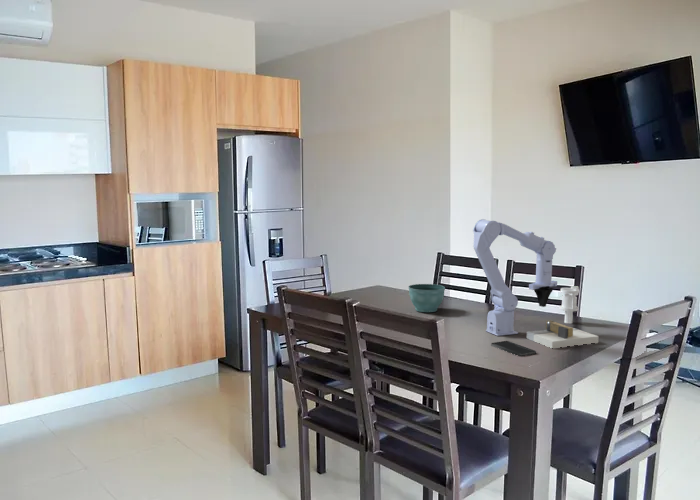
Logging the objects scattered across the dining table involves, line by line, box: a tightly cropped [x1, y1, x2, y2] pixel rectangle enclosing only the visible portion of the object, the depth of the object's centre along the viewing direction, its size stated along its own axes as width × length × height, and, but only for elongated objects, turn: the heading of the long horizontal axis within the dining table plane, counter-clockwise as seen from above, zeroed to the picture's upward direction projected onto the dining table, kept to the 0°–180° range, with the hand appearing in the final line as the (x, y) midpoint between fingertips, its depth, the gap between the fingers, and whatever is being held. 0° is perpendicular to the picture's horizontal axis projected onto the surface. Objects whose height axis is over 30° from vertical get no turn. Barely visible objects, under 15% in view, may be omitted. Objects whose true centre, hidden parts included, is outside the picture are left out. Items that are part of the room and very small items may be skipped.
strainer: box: [559, 285, 580, 324], centre depth 233 cm, size 7×7×15 cm
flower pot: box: [408, 283, 446, 313], centre depth 255 cm, size 16×16×11 cm
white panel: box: [526, 326, 600, 349], centre depth 207 cm, size 20×14×6 cm
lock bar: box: [545, 319, 574, 337], centre depth 207 cm, size 12×3×3 cm, turn 19°
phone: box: [490, 340, 537, 357], centre depth 196 cm, size 8×1×15 cm
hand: (542, 306), depth 221 cm, fingers closed
